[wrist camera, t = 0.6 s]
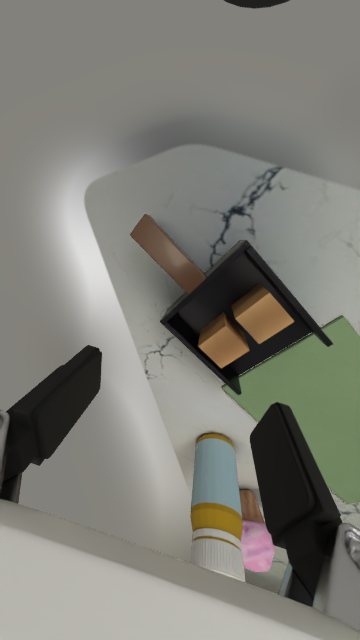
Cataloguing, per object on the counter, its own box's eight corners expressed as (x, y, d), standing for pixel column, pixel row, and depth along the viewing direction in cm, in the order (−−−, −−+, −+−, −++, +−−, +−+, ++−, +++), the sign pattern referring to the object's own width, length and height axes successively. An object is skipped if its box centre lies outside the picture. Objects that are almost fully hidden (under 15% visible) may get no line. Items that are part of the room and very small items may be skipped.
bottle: (207, 458, 36) (205, 590, 22) (189, 436, 34) (174, 565, 20) (240, 451, 33) (260, 595, 20) (223, 427, 32) (231, 568, 18)
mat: (221, 386, 28) (221, 388, 28) (342, 315, 21) (344, 316, 20) (345, 501, 34) (347, 504, 34) (469, 477, 27) (472, 480, 27)
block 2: (231, 305, 22) (234, 318, 18) (259, 283, 20) (269, 292, 17) (251, 327, 23) (259, 344, 19) (280, 307, 21) (294, 321, 17)
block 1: (199, 330, 24) (197, 346, 20) (223, 311, 22) (225, 325, 19) (219, 350, 25) (221, 368, 21) (243, 333, 23) (249, 350, 19)
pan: (121, 265, 23) (102, 271, 19) (188, 179, 18) (182, 161, 14) (234, 374, 27) (238, 398, 23) (313, 327, 22) (336, 346, 18)
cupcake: (268, 505, 39) (285, 585, 30) (228, 504, 42) (233, 578, 33) (259, 482, 36) (275, 562, 27) (217, 482, 39) (219, 556, 30)
